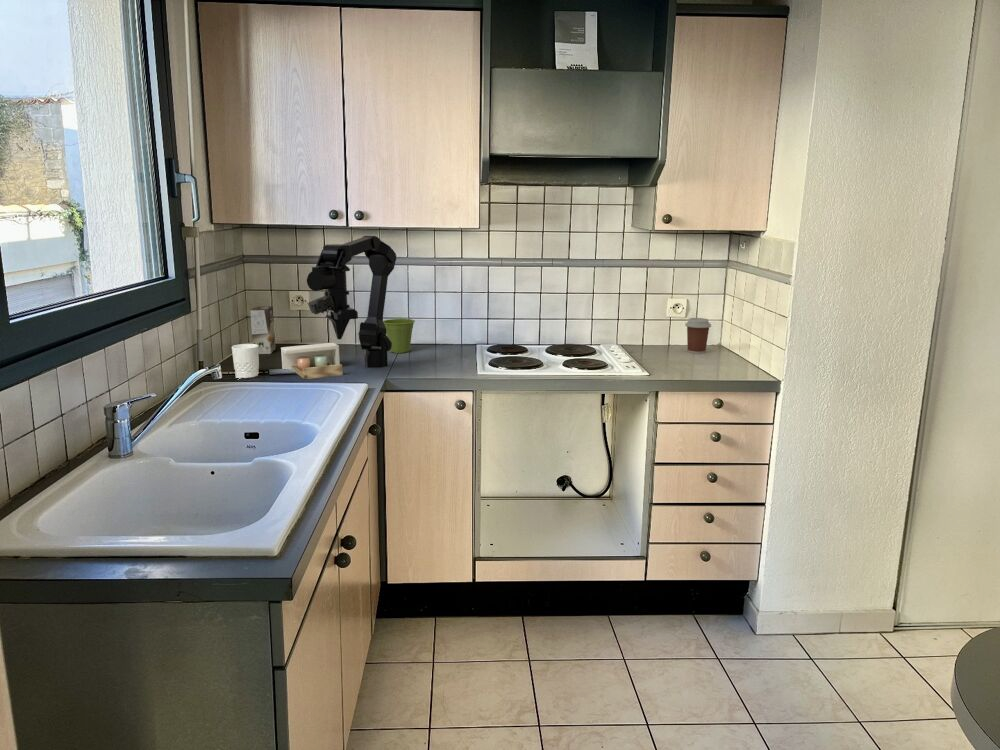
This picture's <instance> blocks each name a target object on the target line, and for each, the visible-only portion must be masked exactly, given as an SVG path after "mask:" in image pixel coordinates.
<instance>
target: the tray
mask: <svg viewBox="0 0 1000 750" xmlns="http://www.w3.org/2000/svg"><path fill="white" fill-rule="evenodd" d="M292 369H294V370H295V371H296V373H295V374H296V375H298V377H299V376H300V377H301V378H302V379H304V380H310V379H312V380H313V379H319V378H329V377H337V376H343V375H344V372H343V364H341V363H340V364H338V365H332V364H330V363H329V362H327V366H320V367H315V363H314V364H310V368H303V372H302V371H301V370H299V369H298V368H297V365H295V366H291V369H290V370H292Z"/></svg>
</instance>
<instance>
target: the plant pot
mask: <svg viewBox="0 0 1000 750" xmlns="http://www.w3.org/2000/svg"><path fill="white" fill-rule="evenodd" d="M383 322H384V325H385V327H386V336H387V337H388V338H389V340H390V341H391V343H392V346H391V350H390V351H389V352H390V353H395V354H399V353H400V354H404V353H406V352H408V353H409V352H410V351H411V343H412V337H413V328H414V323H416V320H415V319H412V318H411V319H410V318H392V319H386V320H384V319H383Z"/></svg>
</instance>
